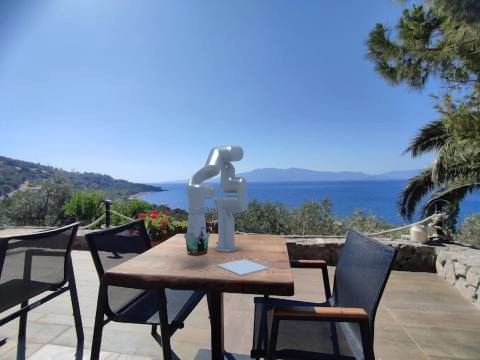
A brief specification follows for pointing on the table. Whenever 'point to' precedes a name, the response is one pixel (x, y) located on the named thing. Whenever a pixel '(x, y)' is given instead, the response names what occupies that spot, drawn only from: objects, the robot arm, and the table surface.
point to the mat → (242, 267)
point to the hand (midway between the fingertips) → (197, 249)
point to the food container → (195, 244)
